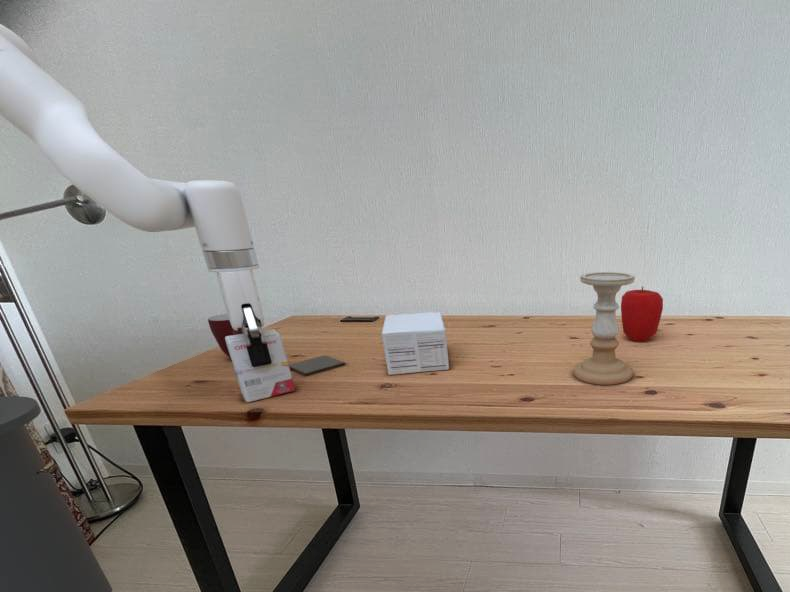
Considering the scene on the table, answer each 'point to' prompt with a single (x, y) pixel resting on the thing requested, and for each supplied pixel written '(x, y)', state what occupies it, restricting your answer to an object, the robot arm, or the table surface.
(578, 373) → the candle holder
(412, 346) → the supplement box
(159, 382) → the table surface
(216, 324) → the mug
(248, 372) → the ink box
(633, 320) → the apple
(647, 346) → the table surface
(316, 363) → the coaster
